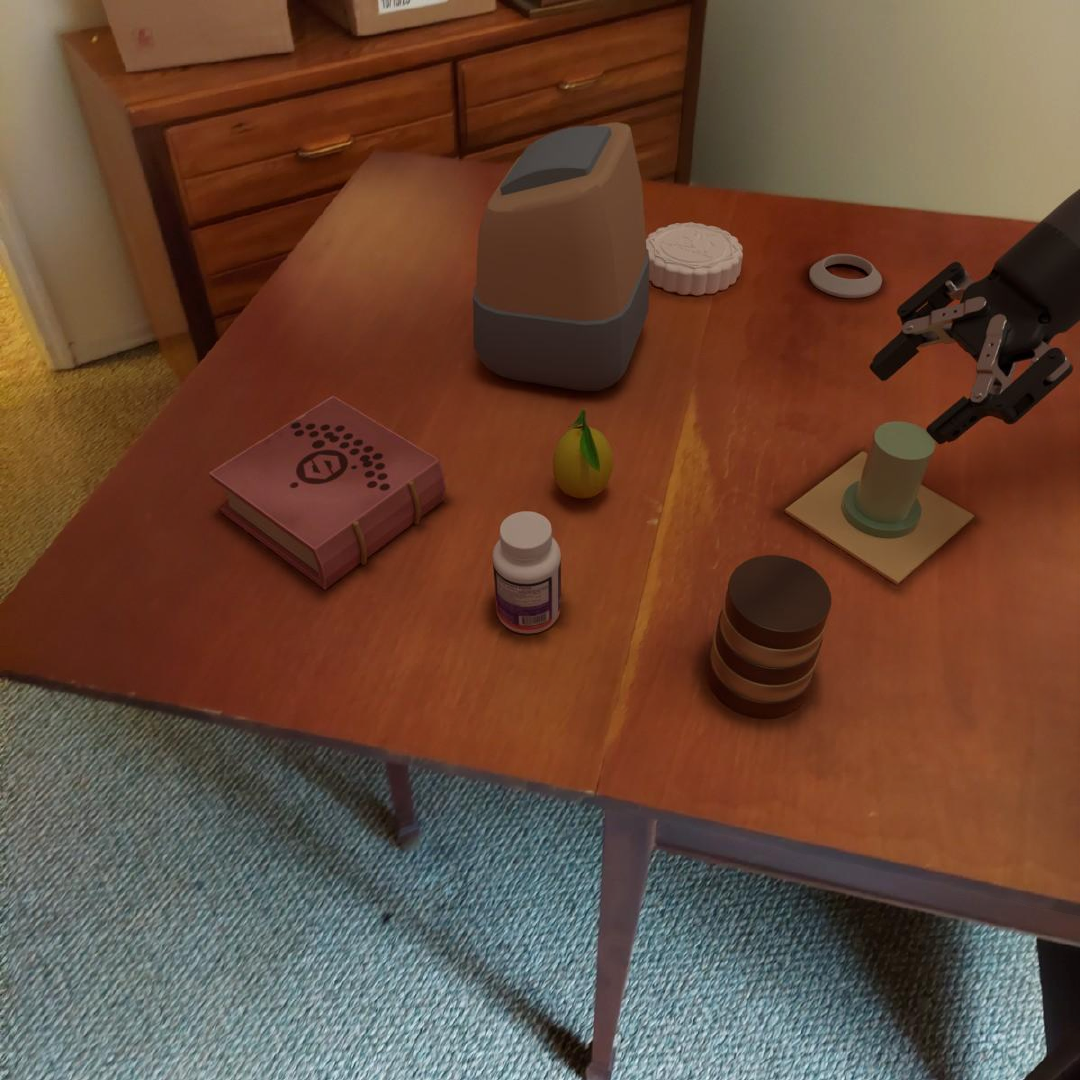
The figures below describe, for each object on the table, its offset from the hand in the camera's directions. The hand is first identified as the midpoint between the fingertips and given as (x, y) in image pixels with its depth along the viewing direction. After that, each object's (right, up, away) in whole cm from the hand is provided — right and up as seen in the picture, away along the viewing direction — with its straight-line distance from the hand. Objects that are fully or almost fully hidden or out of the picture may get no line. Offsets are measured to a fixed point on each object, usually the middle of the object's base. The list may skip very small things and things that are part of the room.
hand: (903, 405), depth 77 cm
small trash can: (-27, +10, +28) cm, 40 cm away
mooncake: (-11, +22, +39) cm, 46 cm away
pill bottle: (-30, -17, +2) cm, 35 cm away
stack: (-12, -21, -2) cm, 25 cm away
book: (-48, -8, +11) cm, 50 cm away
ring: (+7, +20, +37) cm, 43 cm away
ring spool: (+1, -8, +9) cm, 13 cm away
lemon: (-25, -7, +12) cm, 29 cm away
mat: (+1, -9, +10) cm, 13 cm away
